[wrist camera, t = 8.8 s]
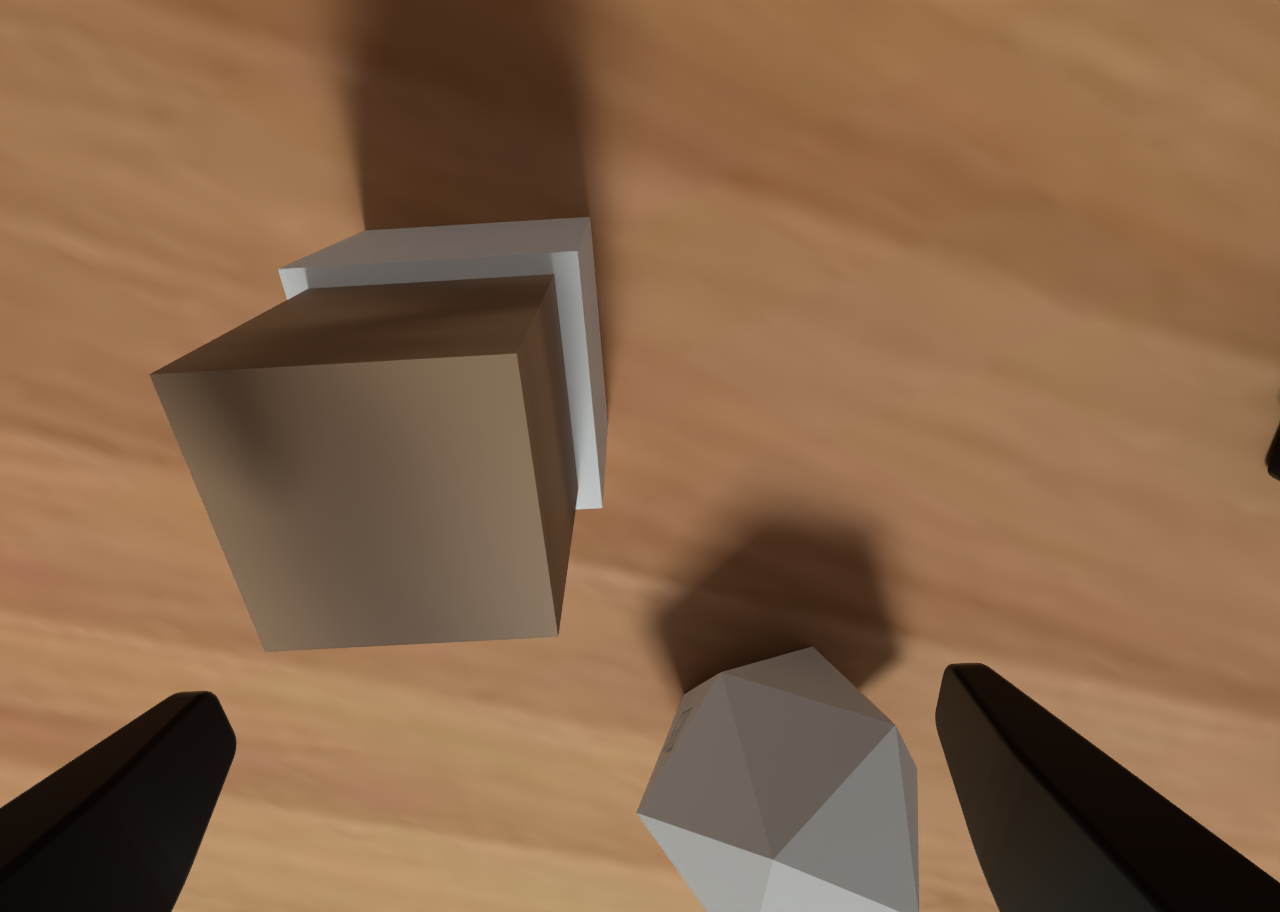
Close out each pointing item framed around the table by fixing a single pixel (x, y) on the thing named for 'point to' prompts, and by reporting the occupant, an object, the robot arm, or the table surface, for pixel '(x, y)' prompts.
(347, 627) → the brown cube
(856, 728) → the die
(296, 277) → the grey block
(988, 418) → the table surface
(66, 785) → the robot arm
